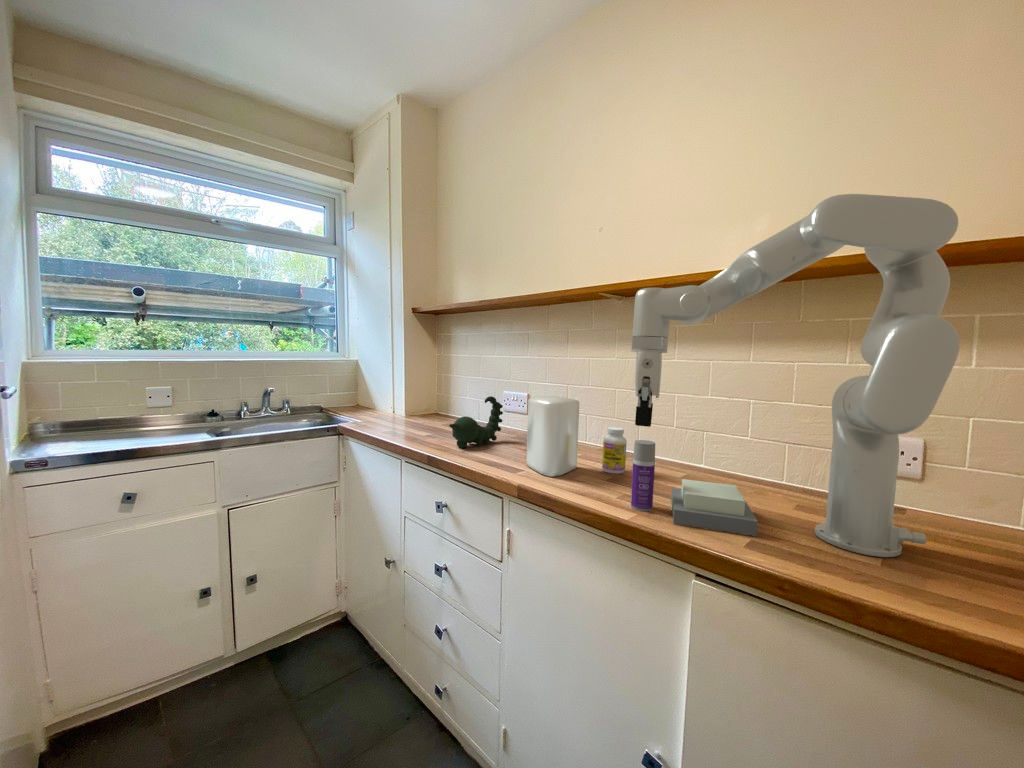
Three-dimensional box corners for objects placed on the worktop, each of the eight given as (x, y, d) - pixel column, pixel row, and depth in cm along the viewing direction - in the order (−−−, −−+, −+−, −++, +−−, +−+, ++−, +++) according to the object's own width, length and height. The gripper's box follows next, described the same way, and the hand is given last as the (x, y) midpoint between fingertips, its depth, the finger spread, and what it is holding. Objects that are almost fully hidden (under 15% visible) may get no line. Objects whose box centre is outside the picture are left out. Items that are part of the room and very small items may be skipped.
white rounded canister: (576, 466, 127) (578, 395, 125) (578, 479, 113) (582, 400, 111) (526, 463, 128) (529, 393, 127) (523, 476, 114) (526, 397, 112)
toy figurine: (487, 443, 163) (438, 446, 144) (492, 395, 163) (443, 393, 144) (505, 447, 157) (456, 451, 138) (509, 397, 157) (461, 395, 138)
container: (638, 512, 90) (641, 444, 89) (626, 504, 95) (629, 440, 93) (656, 510, 91) (660, 444, 90) (644, 503, 96) (647, 439, 95)
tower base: (741, 509, 93) (743, 484, 93) (756, 536, 79) (758, 506, 79) (671, 500, 98) (672, 475, 98) (673, 523, 84) (675, 495, 84)
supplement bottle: (599, 471, 121) (601, 428, 120) (605, 466, 127) (607, 425, 126) (622, 475, 118) (624, 431, 117) (627, 470, 124) (629, 428, 123)
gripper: (668, 345, 81) (661, 430, 82) (666, 347, 97) (661, 419, 99) (629, 343, 83) (623, 426, 85) (633, 346, 100) (628, 415, 101)
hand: (643, 422), depth 92 cm, fingers open, 9 cm apart
